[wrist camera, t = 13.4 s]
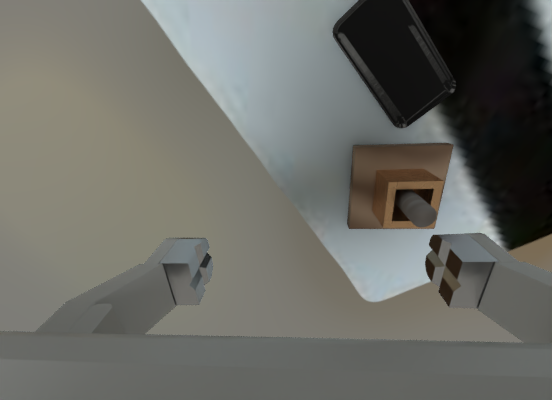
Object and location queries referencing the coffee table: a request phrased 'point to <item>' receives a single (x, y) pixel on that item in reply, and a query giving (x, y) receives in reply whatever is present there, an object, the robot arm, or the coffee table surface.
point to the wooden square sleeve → (403, 179)
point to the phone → (394, 58)
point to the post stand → (407, 200)
